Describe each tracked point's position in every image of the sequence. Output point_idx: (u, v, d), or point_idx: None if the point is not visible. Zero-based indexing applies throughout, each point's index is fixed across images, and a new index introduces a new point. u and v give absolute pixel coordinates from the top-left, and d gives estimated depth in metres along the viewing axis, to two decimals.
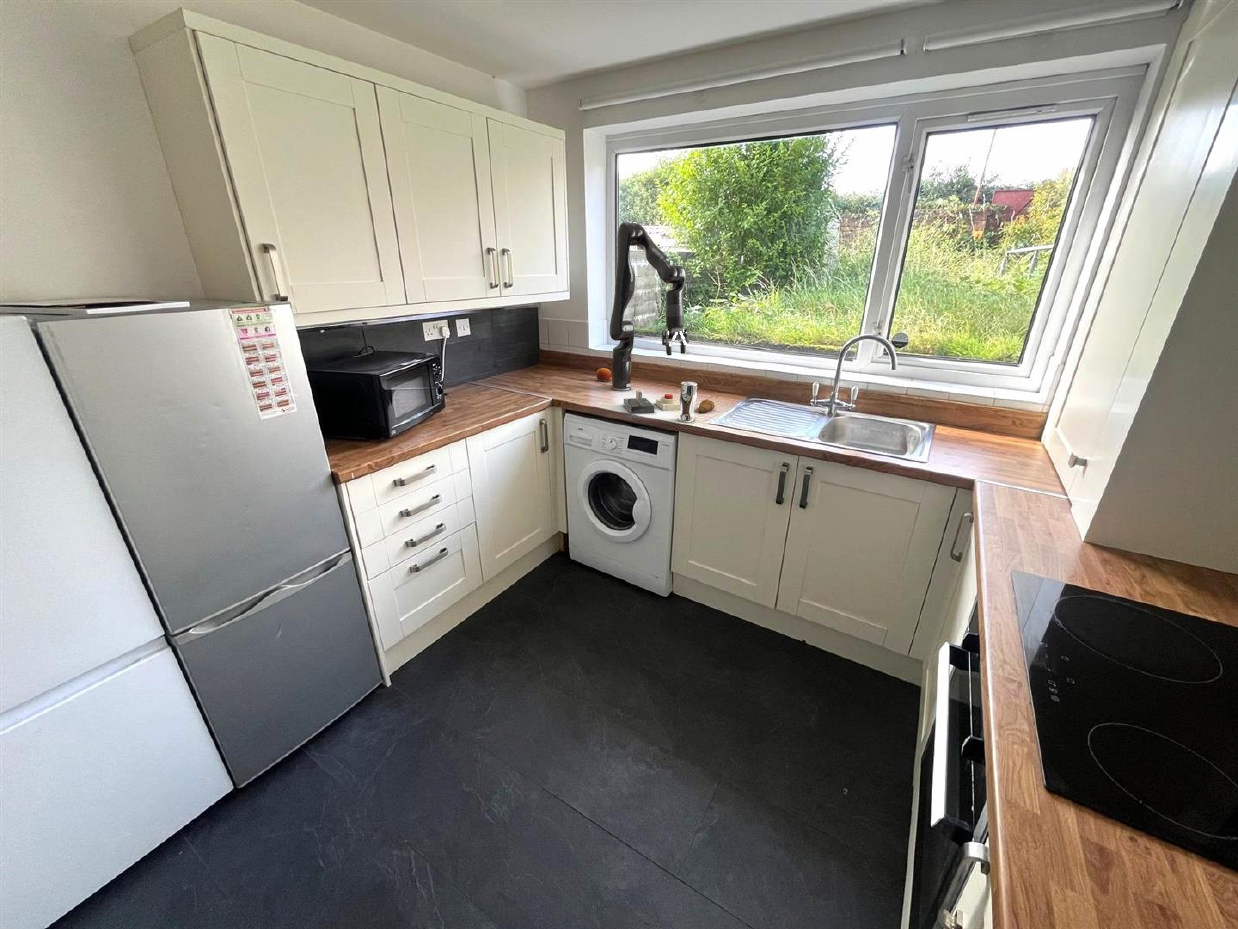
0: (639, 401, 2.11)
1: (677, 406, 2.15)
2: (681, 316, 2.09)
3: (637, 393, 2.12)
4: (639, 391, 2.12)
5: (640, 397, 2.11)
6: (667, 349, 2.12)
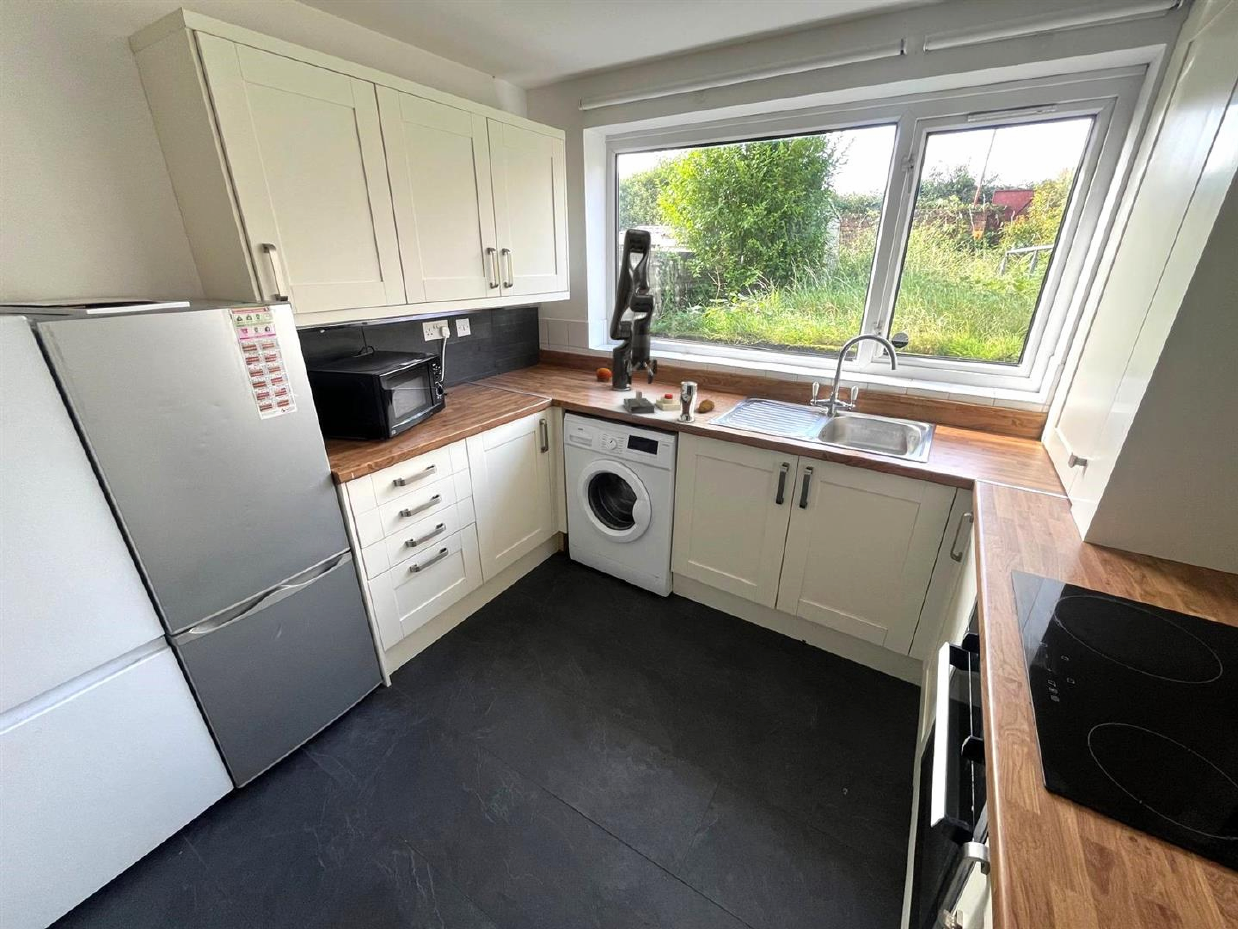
0: (639, 401, 2.11)
1: (677, 406, 2.15)
2: (643, 348, 2.02)
3: (637, 393, 2.12)
4: (639, 391, 2.12)
5: (640, 397, 2.11)
6: (627, 378, 2.09)
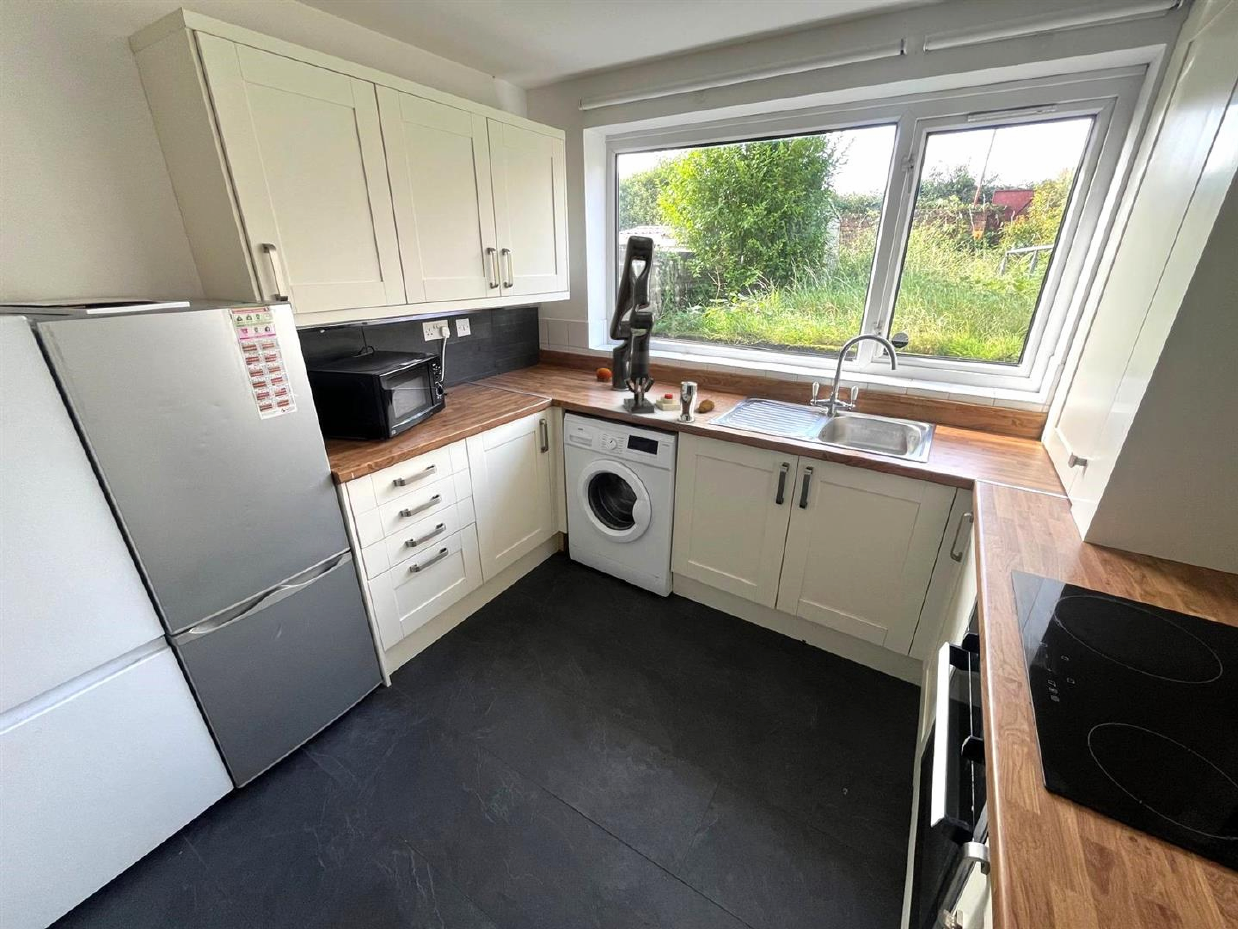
0: (639, 401, 2.11)
1: (677, 406, 2.15)
2: (642, 364, 2.04)
3: None
4: (639, 391, 2.12)
5: (640, 397, 2.11)
6: (634, 396, 2.12)
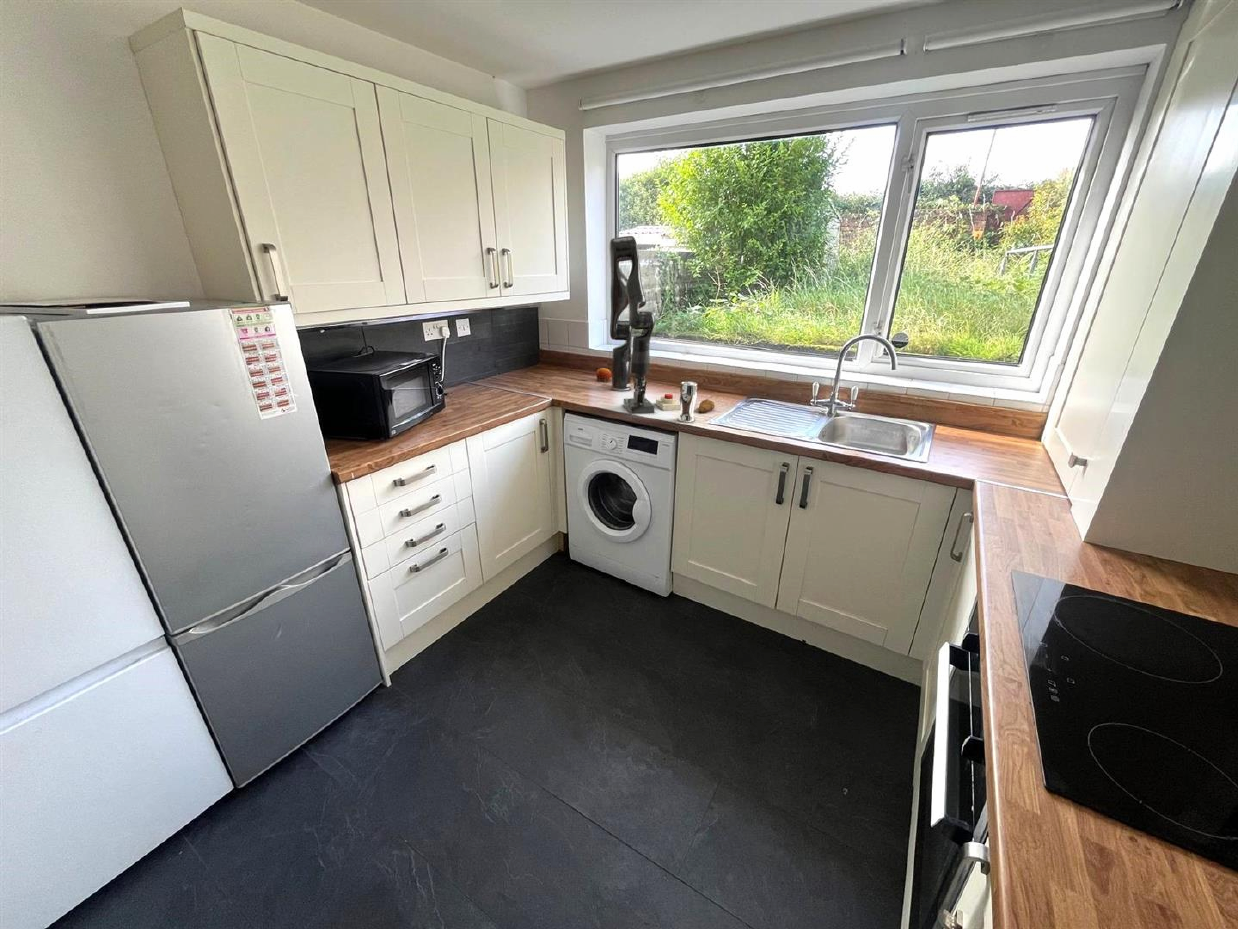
0: None
1: (677, 406, 2.15)
2: None
3: None
4: None
5: None
6: (641, 397, 2.10)
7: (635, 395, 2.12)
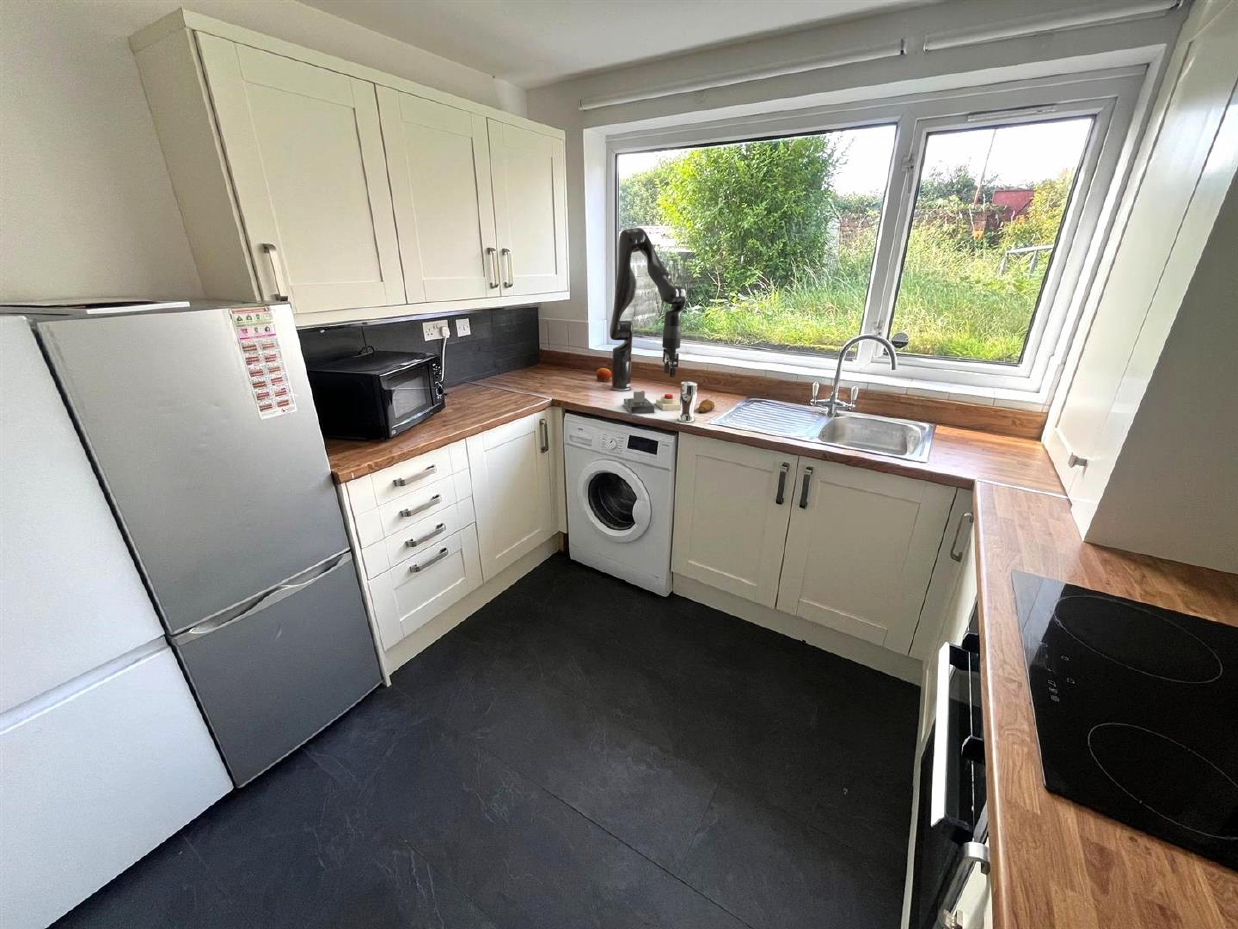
0: None
1: (677, 406, 2.15)
2: None
3: (639, 393, 2.12)
4: (638, 391, 2.12)
5: None
6: (673, 371, 2.09)
7: (635, 395, 2.12)
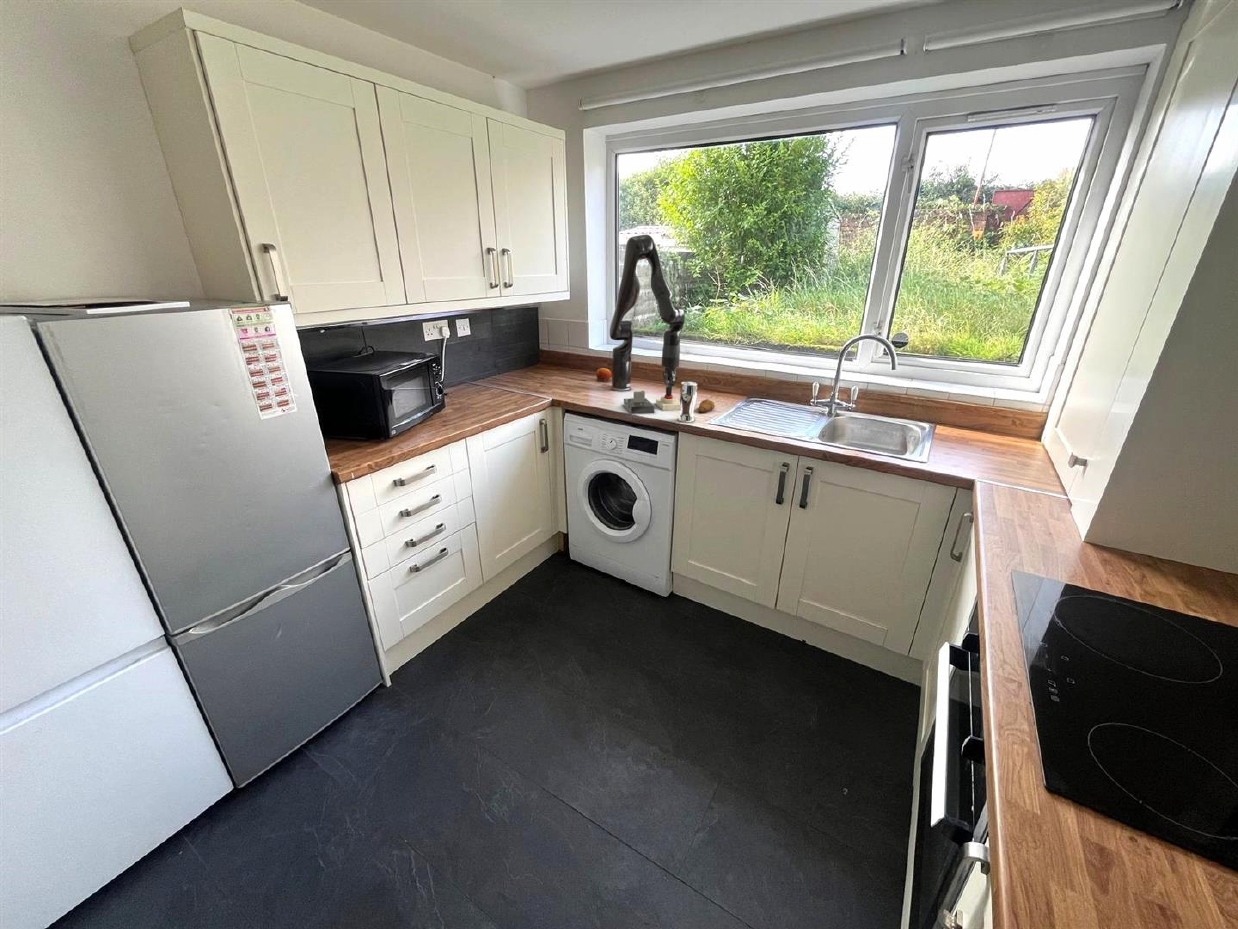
0: None
1: (677, 406, 2.15)
2: None
3: (639, 393, 2.12)
4: (638, 391, 2.12)
5: None
6: (670, 390, 2.16)
7: (635, 395, 2.12)
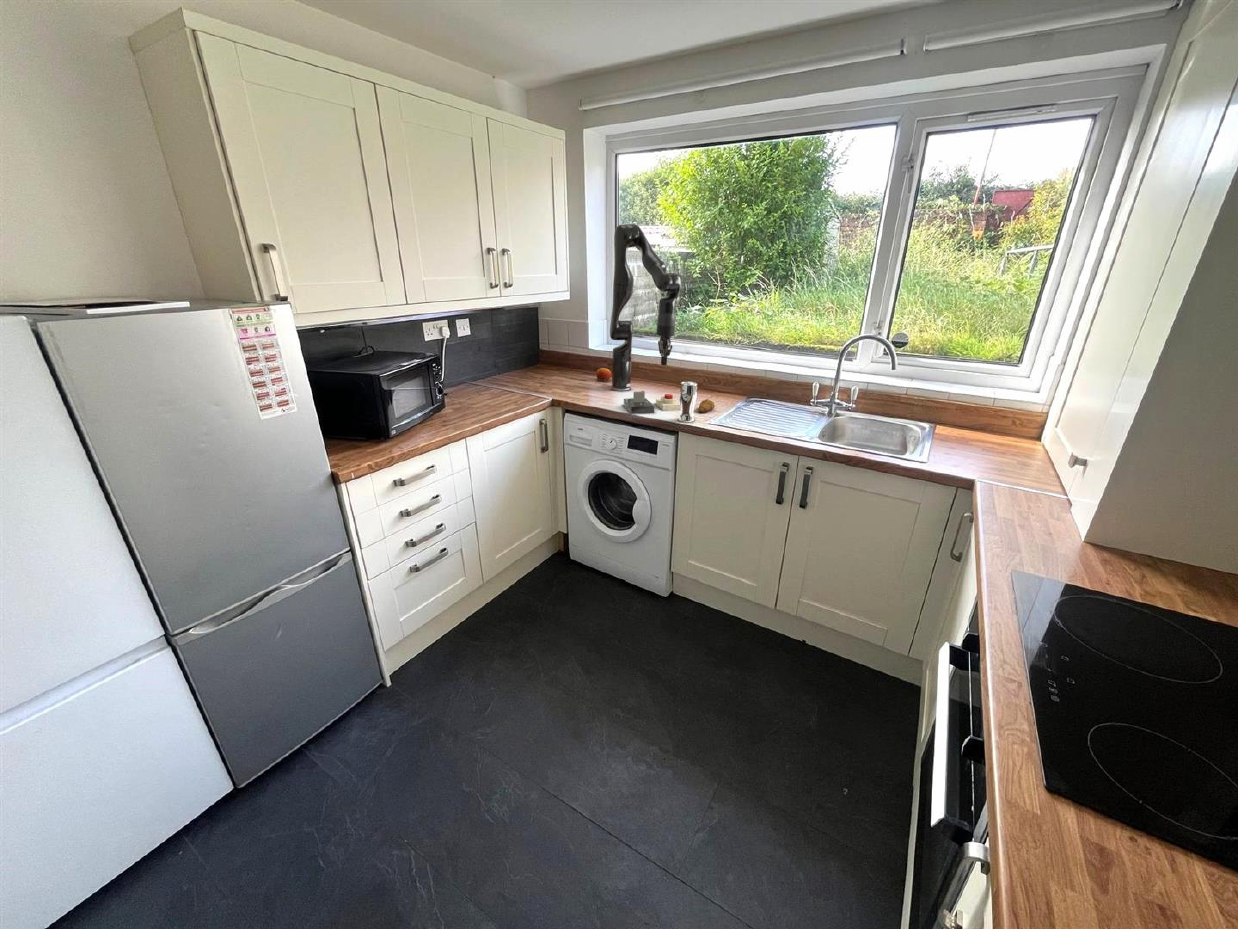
0: None
1: (677, 406, 2.15)
2: None
3: (639, 393, 2.12)
4: (638, 391, 2.12)
5: None
6: (665, 359, 2.13)
7: (635, 395, 2.12)
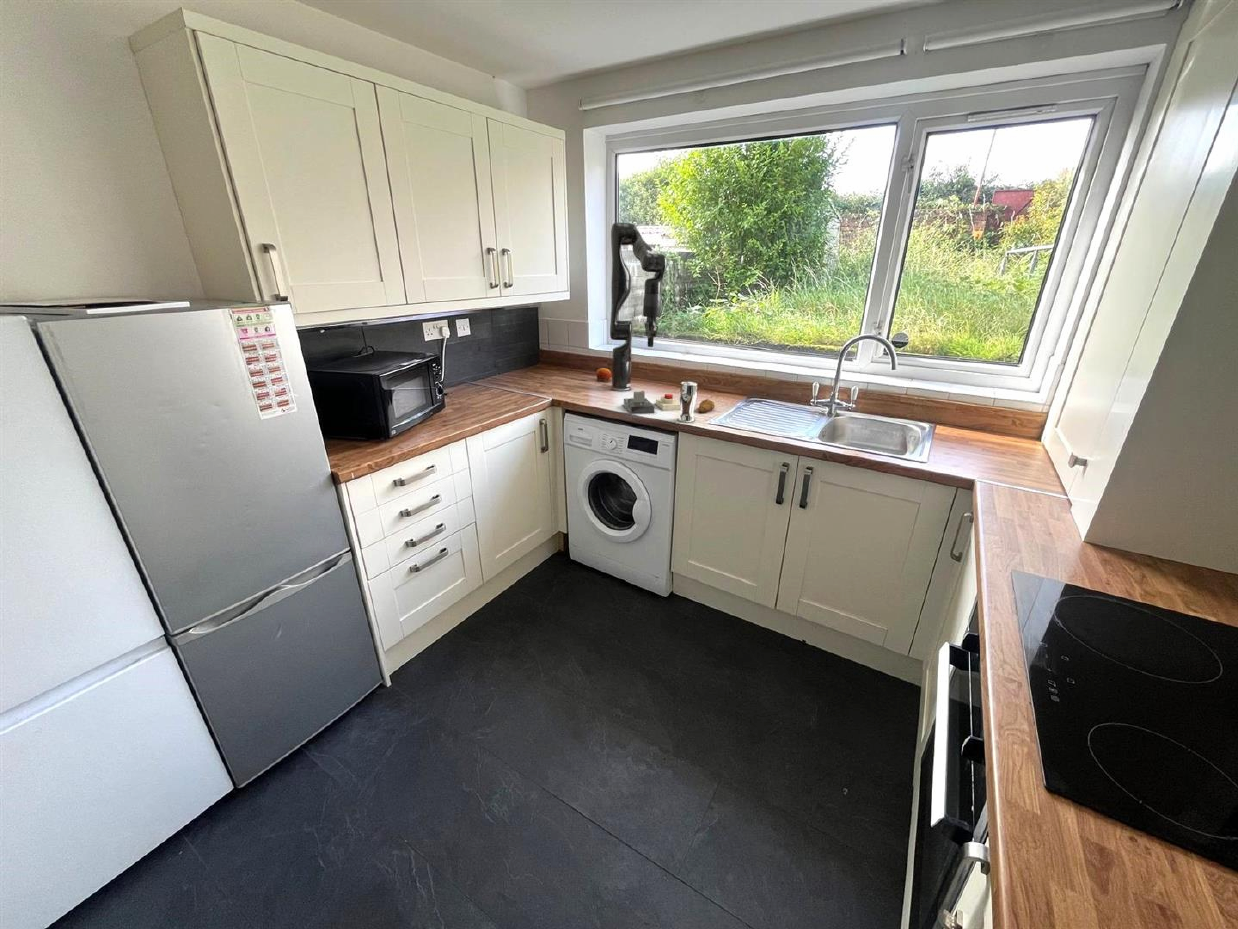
0: None
1: (677, 406, 2.15)
2: None
3: (639, 393, 2.12)
4: (638, 391, 2.12)
5: None
6: (651, 341, 2.14)
7: (635, 395, 2.12)
